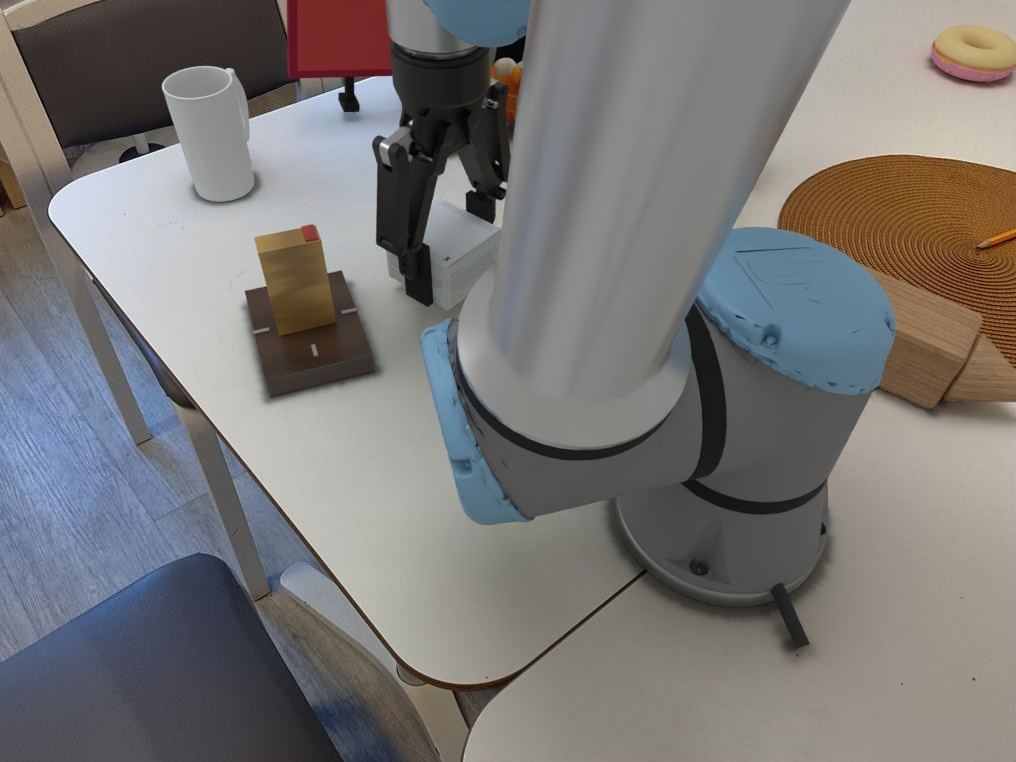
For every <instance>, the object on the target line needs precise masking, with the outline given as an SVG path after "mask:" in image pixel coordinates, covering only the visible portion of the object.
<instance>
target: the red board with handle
mask: <svg viewBox="0 0 1016 762" xmlns="http://www.w3.org/2000/svg"><path fill="white" fill-rule="evenodd" d="M526 35H527V34H526ZM526 35H525V36H523V37H521V38H519V39H518V40H517V41H515V42H514V43H512V44H509V45H506V46H501V47H491V67H494V64H495V62H496V61H498V60H499V59H502V58H510V59H512V60H513V61H514V62H515V63H516V64H518V63H519V62H521V61H523V58H524V50H525V42H526ZM391 41H392V39H391V38H390V36H389V35H388V24H387V12H386V0H286V49H287V51H286V52H287V53H286V55H287V62H286V63H287V76H288V79H290V80H291V79H294V80H295V79H331V78H332V79H333V78H343V79H344V80H343V81H344V82H343V83H344V92H338V94H337V95H338V96H337V97H338V98H337V99H338V102H339V105H340V107H341V110H342V111H343V113H345V114H346V113H360V110H361V104H360V102H359V100H358V97H357V96H356V94H355V78H369V77H370V78H371V77H374V78H375V77H392V67H391V56H390V43H391Z"/></svg>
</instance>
